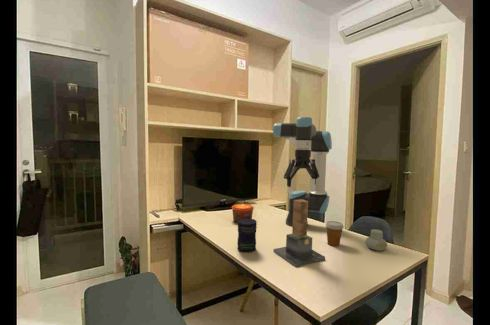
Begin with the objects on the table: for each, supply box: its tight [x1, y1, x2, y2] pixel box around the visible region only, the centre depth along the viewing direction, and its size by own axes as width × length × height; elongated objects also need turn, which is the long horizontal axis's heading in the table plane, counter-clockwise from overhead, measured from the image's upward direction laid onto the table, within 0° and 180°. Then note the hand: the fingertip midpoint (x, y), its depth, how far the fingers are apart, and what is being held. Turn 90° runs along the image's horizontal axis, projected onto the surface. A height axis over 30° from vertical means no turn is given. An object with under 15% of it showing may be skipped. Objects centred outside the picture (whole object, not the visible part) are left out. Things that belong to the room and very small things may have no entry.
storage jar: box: [236, 218, 257, 254], centre depth 136 cm, size 10×10×15 cm
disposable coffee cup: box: [325, 220, 344, 247], centre depth 145 cm, size 10×10×12 cm
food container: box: [231, 203, 255, 224], centre depth 185 cm, size 16×16×11 cm
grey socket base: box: [273, 233, 326, 268], centre depth 129 cm, size 18×18×10 cm
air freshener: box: [364, 228, 388, 252], centre depth 141 cm, size 11×8×10 cm
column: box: [291, 199, 309, 239], centre depth 128 cm, size 5×5×20 cm
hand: (301, 192), depth 127 cm, fingers open, 13 cm apart
